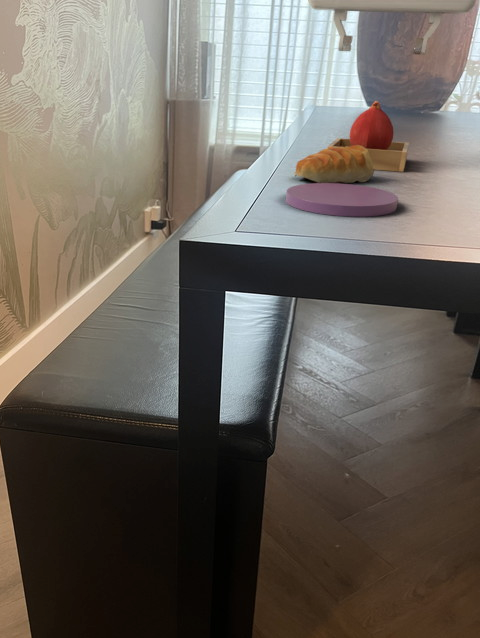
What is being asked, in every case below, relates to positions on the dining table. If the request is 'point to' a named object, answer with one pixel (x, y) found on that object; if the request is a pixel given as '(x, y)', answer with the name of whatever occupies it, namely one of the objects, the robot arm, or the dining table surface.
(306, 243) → the dining table surface
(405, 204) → the dining table surface
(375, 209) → the lid
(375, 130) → the onion
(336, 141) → the tray
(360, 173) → the pastry
